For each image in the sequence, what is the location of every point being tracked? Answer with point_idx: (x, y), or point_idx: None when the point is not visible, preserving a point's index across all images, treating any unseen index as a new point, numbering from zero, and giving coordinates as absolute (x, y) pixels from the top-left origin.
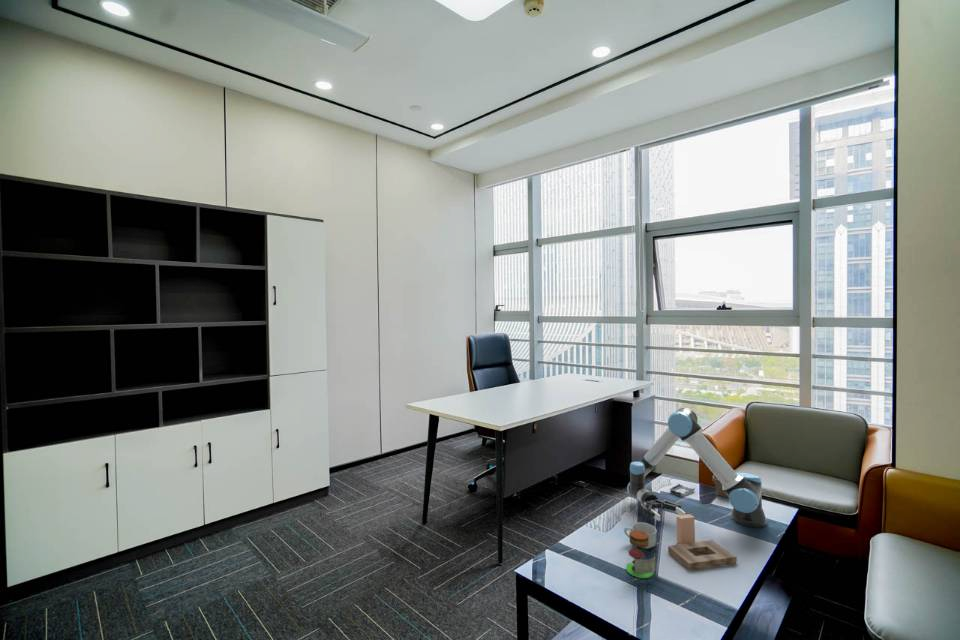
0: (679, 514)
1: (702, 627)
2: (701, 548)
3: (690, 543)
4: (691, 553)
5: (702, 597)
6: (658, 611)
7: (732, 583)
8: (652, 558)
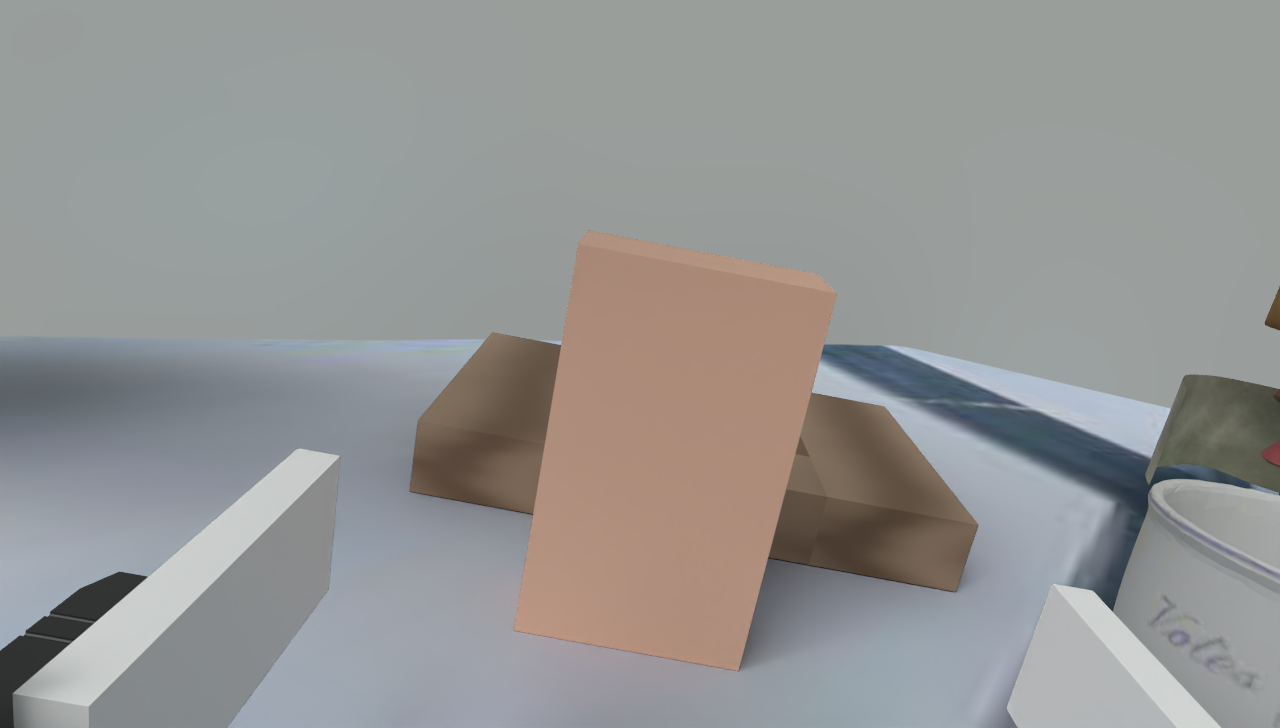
0: (231, 713)
1: (971, 365)
2: None
3: None
4: (802, 427)
5: (900, 390)
6: (1134, 423)
7: None
8: (1202, 377)
